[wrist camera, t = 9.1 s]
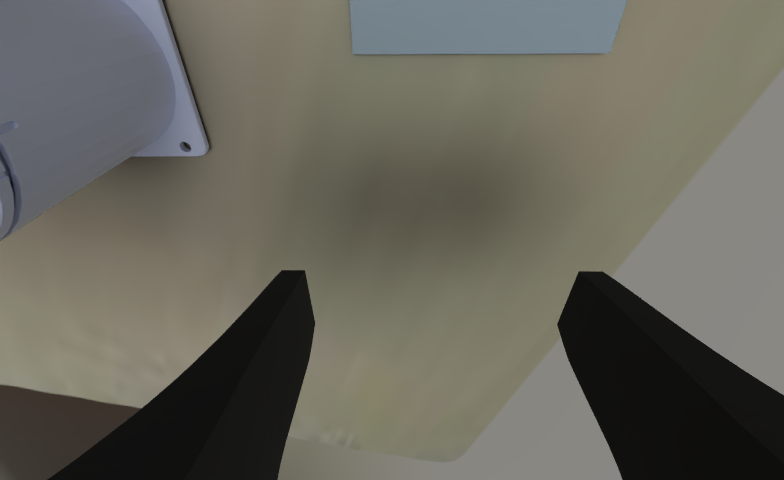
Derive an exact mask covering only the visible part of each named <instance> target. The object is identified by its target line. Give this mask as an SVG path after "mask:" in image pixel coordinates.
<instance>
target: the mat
mask: <svg viewBox="0 0 784 480" xmlns="http://www.w3.org/2000/svg"><path fill="white" fill-rule="evenodd" d="M349 2H350V18H351V34H352V50H353V54H546V53H610V52H611V49H612V45H613V42H614V39H615V36H616V33H617V30H618V27H619V24H620V21H621V18H622V15H623V12H624V9H625V5H626V2H627V0H349Z"/></svg>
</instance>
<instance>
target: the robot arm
mask: <svg viewBox="0 0 784 480" xmlns="http://www.w3.org/2000/svg"><path fill="white" fill-rule="evenodd" d="M183 142H186V143H188V144H189V145H190V147H191V149H188V148H186V147H185V146H184V143H183ZM208 149H209V144H208V141H207V138H206V135H205V132H204V129H203V125H202V122H201V119H200V116H199V113H198V110H197V107H196V104H195V101H194V98H193V94H192V91H191V88H190V85H189V82H188V79H187V76H186V73H185V70H184V67H183V64H182V60H181V57H180V54H179V51H178V48H177V45H176V42H175V39H174V36H173V33H172V29H171V26H170V23H169V20H168V17H167V14H166V11H165V8H164V5H163V2H162V0H0V241H1V240H3V239H4V238H6V237H7V236H9V235H10V234H12V233H13V232H15V231H17V230H18V229H20V228H21V227H23V226H24V225H26V224H27V223H29V222H30V221H32V220H34V219H35V218H37V217H38V216H40V215H41V214H43V213H44V212H46V211H48V210H49V209H51V208H52V207H54V206H55V205H57V204H58V203H60V202H61V201H63V200H65V199H66V198H68V197H69V196H71V195H72V194H74V193H75V192H77V191H78V190H80V189H82V188H83V187H85V186H86V185H88V184H89V183H91V182H92V181H94V180H96V179H97V178H99V177H100V176H102V175H103V174H105V173H106V172H108V171H109V170H111V169H113V168H114V167H116V166H117V165H119V164H120V163H122V162H123V161H125V160H126V159H128V158H130V157H157V156H203V155H204V154H205V153H206V152H208ZM557 325H558V328H559V332H560V335H561V338H562V342H563V345H564V348H565V351H566V354H567V357H568V359H569V362H570V364H571V366H572V368H573V371H574V373H575V375H576V377H577V379H578V381H579V384H580V386H581V388H582V390H583V392H584V394H585V397H586V399H587V401H588V403H589V405H590V407H591V409H592V411H593V413H594V416H595V417H596V420H597V422H598V424H599V426H600V428H601V430H602V432H603V434H604V437H605V439H606V441H607V443H608V445H609V447H610V450H611V452H612V454H613V457H614V459H615V461H616V464H617V466H618V468H619V471H620V474H621V477H622V479H623V480H784V395H782V394H780V393H779V392H777V391H775V390H774V389H772V388H771V387H769V386H767V385H766V384H764V383H763V382H761V381H759V380H758V379H756V378H755V377H753V376H752V375H750V374H749V373H747V372H745V371H744V370H742V369H741V368H739V367H738V366H736V365H735V364H733V363H732V362H730V361H729V360H727V359H726V358H724V357H723V356H721V355H720V354H718V353H717V352H715V351H713V350H712V349H711V348H709V347H708V346H707V345H705V344H704V343H702V342H701V341H699V340H697V339H696V338H695V337H694V336H692V335H691V334H689V333H688V332H686V331H685V330H683V329H682V328H681V327H679V326H678V325H677V324H675V323H674V322H672V321H671V320H669V319H668V318H667V317H666V316H664V315H663V314H661V313H660V312H659V311H657V310H655V308H653V307H652V306H650V305H649V304H648V303H646V302H645V301H643V300H642V299H641V298H639V297H638V296H637V295H635V294H634V293H633V292H631V291H630V290H628V289H627V288H625V287H624V286H623V285H621V284H620V283H619V282H617V281H616V280H614V279H613V278H611V277H610V276H608V275H607V274H605V273H604V272H578V275H577V277H576V280H575V282H574V285H573V287H572V289H571V292H570V294H569V297H568V299H567V302H566V304H565V307H564V309H563V311H562V314H561V316H560V319H559V321H558V324H557ZM314 327H315V320H314V315H313V310H312V305H311V300H310V294H309V289H308V284H307V279H306V274H305V270H282V271H281V272H280V273H279V274H278V275H277V276H276V277H275V278H274V279H273V280H272V281H271V282H270V284H269V285H268V286H267V287H266V288H265V289H264V290H263V291H262V293H261V294H260V295H259V296H258V297H257V298H256V299H255V300H254V302H253V303H252V304H251V305H250V306H249V307H248V308H247V309H246V310H245V311H244V312H243V314H242V315H241V316H240V317H239V318H238V319H237V320H236V321H235V322H234V323H233V324H232V325H231V326H230V327H229V328H228V329H227V330H226V331H225V333H224V334H223V335H222V336H221V337H220V338H219V339H218V340H217V341H216V342H215V343H214V344H213V345H211V346H210V347H209V348H208V349H207V350H206V351H205V352H204V353H203V354H202V355H201V356H200V357H199V358H198V359H197V360H196V361H195V362H194V363H193V364H192V365H191V366H190V367H189V368H188V369H187V370H185V371H184V372H183V373H182V374H181V375H180V376H179V377H178V378H177V379H176V380H174V381H173V382H172V383H171V384H170V385H169V386H168V387H167V388H165V389H164V390H163V391H162V392H161V393H159V394H158V395H157V396H156V397H155V398H154V399H152V400H151V401H150V402H149V403H148V404H147V405H145V406H144V407H143V408H142V409H141V410H139V411H138V412H137V413H136V414H134V415H133V416H132V417H131V418H129V419H128V420H127V421H126V422H124V423H123V424H122V425H120V426H119V427H118V428H116V429H115V430H114V431H112V432H111V433H110V434H109V435H107V436H106V437H105V438H103V439H102V440H101V441H99V442H98V443H97V444H96V445H94V446H93V447H92V448H90V449H89V450H88V451H86V452H85V453H84V454H82V455H81V456H80V457H79V458H77V459H76V460H74V461H73V462H72V463H70V464H69V465H68V466H66V467H65V468H64V469H62V470H61V471H59V472H58V473H56V474H55V475H53V476H52V477H51V478H49V479H48V480H277V479H278V473H279V468H280V463H281V459H282V455H283V451H284V447H285V442H286V439H287V436H288V432H289V429H290V425H291V422H292V418H293V415H294V411H295V408H296V404H297V401H298V397H299V394H300V390H301V387H302V383H303V380H304V376H305V373H306V369H307V365H308V362H309V358H310V352H311V346H312V340H313V334H314Z"/></svg>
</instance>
